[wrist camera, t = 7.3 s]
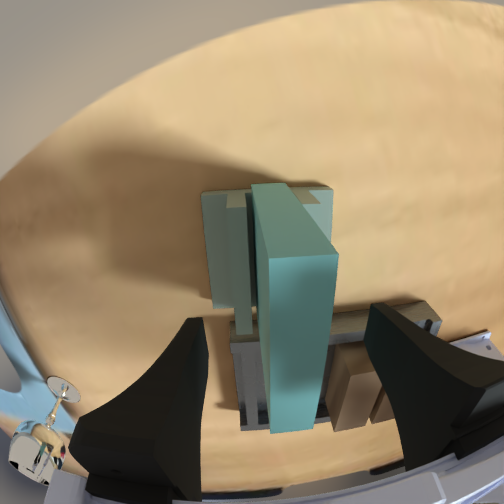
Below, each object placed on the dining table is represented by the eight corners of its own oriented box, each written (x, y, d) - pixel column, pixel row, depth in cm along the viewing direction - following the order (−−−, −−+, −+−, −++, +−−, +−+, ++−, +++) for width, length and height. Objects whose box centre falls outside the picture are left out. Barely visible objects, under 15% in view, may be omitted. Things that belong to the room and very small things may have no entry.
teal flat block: (285, 182, 17) (338, 254, 8) (284, 309, 21) (312, 428, 12) (250, 184, 17) (268, 258, 8) (256, 311, 21) (270, 433, 12)
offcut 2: (407, 329, 23) (427, 359, 19) (386, 388, 26) (399, 416, 23) (377, 334, 23) (396, 366, 19) (360, 393, 26) (371, 424, 23)
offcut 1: (370, 335, 23) (387, 368, 19) (353, 394, 26) (364, 425, 22) (336, 340, 23) (350, 375, 19) (324, 399, 26) (333, 432, 22)
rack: (425, 300, 23) (442, 320, 20) (394, 389, 28) (403, 408, 25) (230, 321, 23) (229, 348, 20) (240, 411, 28) (241, 435, 25)
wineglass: (57, 402, 27) (27, 479, 16) (34, 370, 25) (-7, 450, 14) (94, 407, 27) (66, 493, 16) (71, 373, 25) (31, 466, 14)
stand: (328, 186, 19) (350, 203, 15) (322, 293, 22) (337, 326, 18) (202, 191, 18) (194, 210, 15) (214, 300, 22) (210, 336, 18)
